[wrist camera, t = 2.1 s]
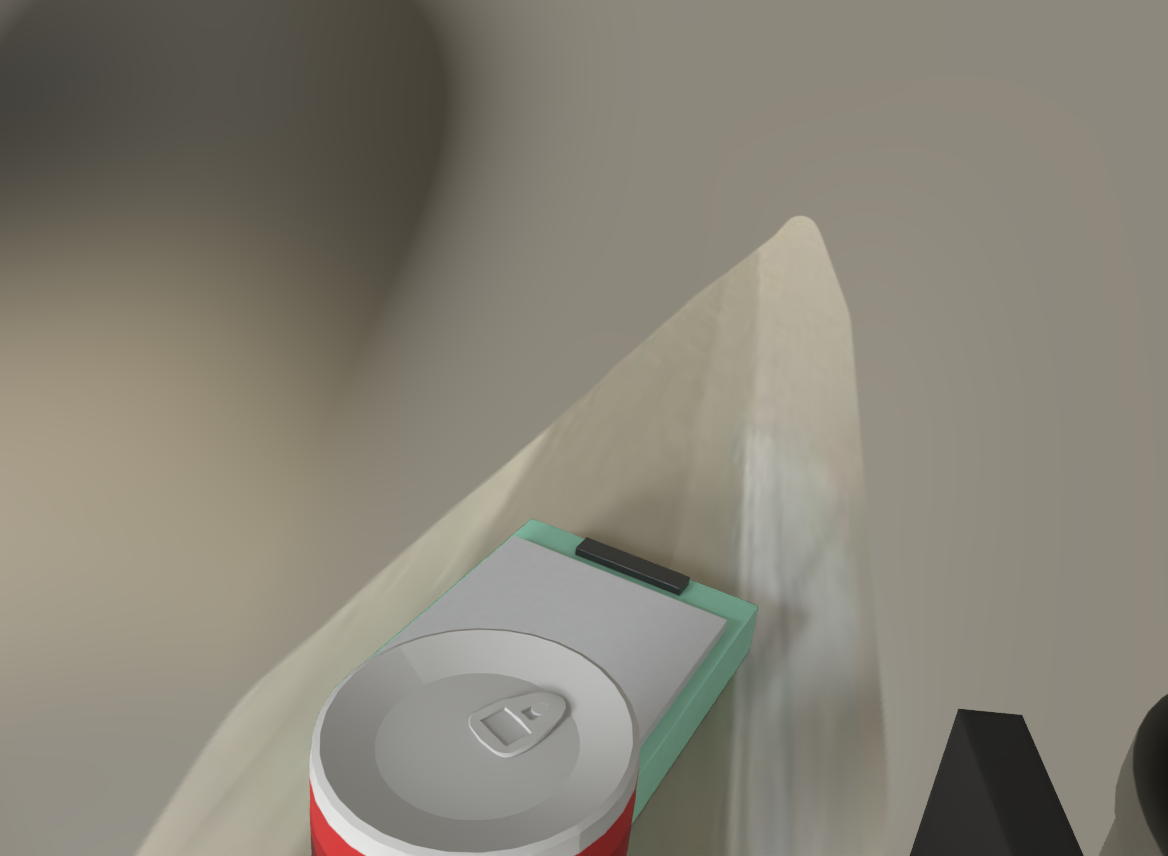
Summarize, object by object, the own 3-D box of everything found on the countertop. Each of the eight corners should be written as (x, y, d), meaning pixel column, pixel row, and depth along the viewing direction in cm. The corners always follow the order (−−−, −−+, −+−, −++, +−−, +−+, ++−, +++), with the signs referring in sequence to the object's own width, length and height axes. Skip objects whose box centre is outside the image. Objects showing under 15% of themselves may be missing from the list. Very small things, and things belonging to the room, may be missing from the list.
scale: (749, 650, 47) (761, 593, 46) (598, 875, 36) (607, 809, 35) (528, 561, 51) (532, 506, 50) (334, 738, 40) (333, 674, 39)
